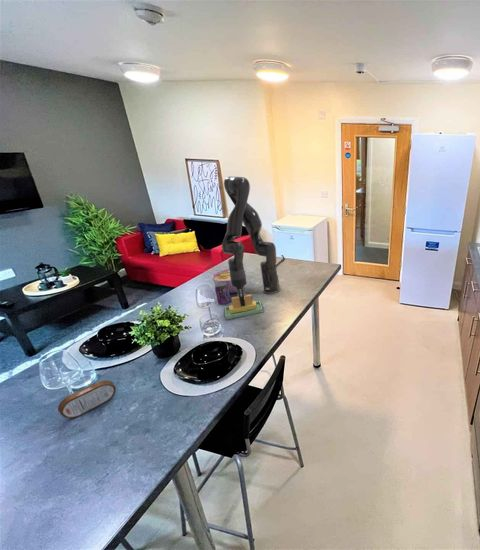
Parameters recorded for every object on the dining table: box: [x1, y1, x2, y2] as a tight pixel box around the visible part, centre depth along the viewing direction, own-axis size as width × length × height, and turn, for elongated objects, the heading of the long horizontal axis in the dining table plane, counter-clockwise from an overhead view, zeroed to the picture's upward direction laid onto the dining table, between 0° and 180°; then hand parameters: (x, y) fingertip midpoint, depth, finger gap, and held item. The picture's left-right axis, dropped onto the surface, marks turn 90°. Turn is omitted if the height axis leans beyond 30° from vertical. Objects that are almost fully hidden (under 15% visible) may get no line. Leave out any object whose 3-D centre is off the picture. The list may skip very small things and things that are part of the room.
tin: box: [57, 379, 117, 419], centre depth 102 cm, size 15×3×8 cm, turn 145°
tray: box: [224, 300, 264, 320], centre depth 164 cm, size 10×19×2 cm, turn 116°
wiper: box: [228, 293, 257, 314], centre depth 162 cm, size 5×14×8 cm, turn 116°
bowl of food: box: [211, 268, 247, 294], centre depth 185 cm, size 20×20×12 cm
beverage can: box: [214, 282, 232, 305], centre depth 171 cm, size 7×7×12 cm
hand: (242, 304), depth 162 cm, fingers closed on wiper, 2 cm apart
